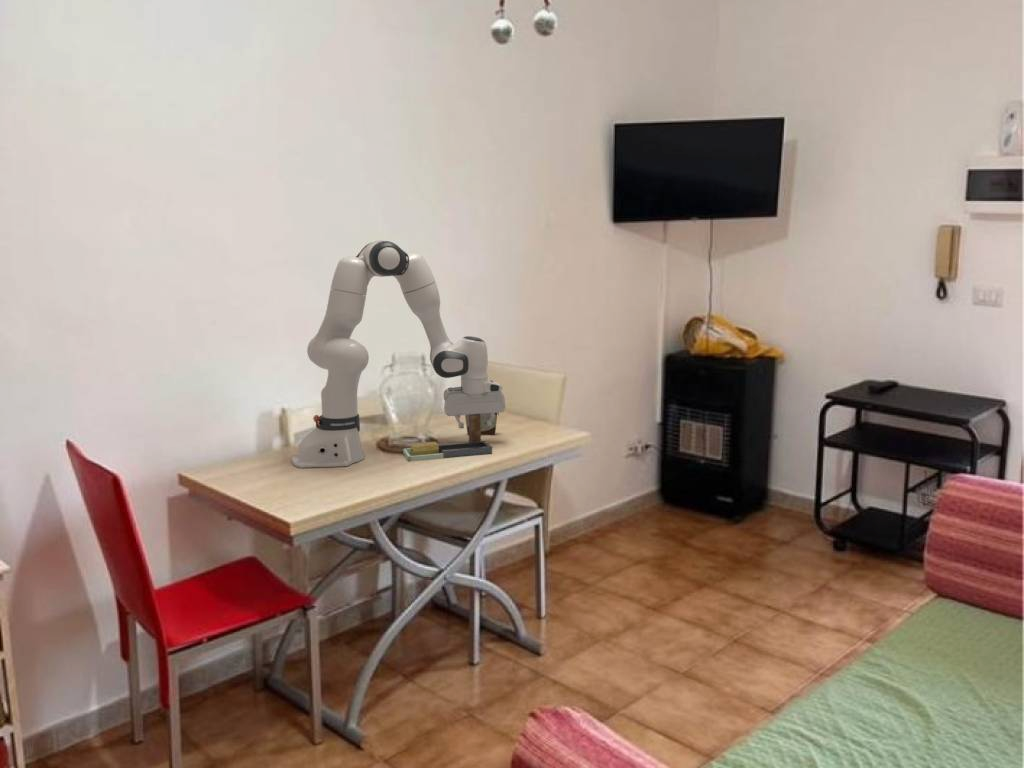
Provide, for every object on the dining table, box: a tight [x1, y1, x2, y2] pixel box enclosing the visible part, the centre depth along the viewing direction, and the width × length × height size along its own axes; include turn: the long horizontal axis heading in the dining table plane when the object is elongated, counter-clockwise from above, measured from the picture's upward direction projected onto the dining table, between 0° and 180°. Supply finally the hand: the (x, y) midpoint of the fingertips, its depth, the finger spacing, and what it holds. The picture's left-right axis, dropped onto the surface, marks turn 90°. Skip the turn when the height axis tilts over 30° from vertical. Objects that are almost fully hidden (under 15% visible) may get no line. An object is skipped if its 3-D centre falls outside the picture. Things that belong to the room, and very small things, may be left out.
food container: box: [464, 412, 500, 436], centre depth 321 cm, size 12×6×10 cm, turn 84°
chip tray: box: [402, 447, 445, 462], centre depth 294 cm, size 11×10×2 cm
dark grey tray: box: [438, 440, 493, 459], centre depth 298 cm, size 16×10×3 cm, turn 107°
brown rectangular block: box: [468, 414, 482, 442], centre depth 307 cm, size 3×4×11 cm
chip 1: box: [410, 442, 426, 456], centre depth 293 cm, size 4×4×4 cm
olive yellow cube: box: [423, 441, 439, 455], centre depth 294 cm, size 4×4×4 cm
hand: (475, 427), depth 307 cm, fingers open, 8 cm apart
